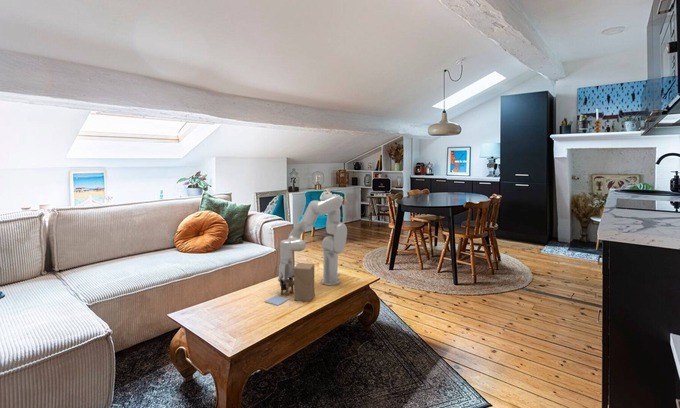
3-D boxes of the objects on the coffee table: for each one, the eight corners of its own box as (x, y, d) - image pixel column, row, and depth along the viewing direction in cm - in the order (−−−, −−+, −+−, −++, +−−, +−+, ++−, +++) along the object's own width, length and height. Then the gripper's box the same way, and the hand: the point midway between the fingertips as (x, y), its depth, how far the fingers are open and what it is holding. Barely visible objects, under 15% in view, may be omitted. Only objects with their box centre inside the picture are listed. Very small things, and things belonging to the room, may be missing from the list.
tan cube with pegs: (286, 290, 219) (286, 278, 218) (294, 292, 216) (293, 280, 215) (280, 294, 214) (280, 281, 213) (287, 296, 211) (287, 283, 210)
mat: (275, 296, 211) (275, 295, 210) (288, 299, 206) (288, 298, 205) (264, 302, 202) (264, 301, 202) (277, 305, 197) (277, 304, 197)
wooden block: (310, 301, 203) (309, 269, 200) (293, 300, 205) (293, 267, 202) (314, 295, 212) (314, 263, 210) (299, 293, 214) (298, 262, 212)
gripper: (290, 255, 221) (291, 282, 224) (272, 262, 207) (273, 291, 209) (300, 257, 218) (300, 284, 220) (282, 264, 203) (282, 294, 205)
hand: (287, 287), depth 215 cm, fingers open, 6 cm apart
